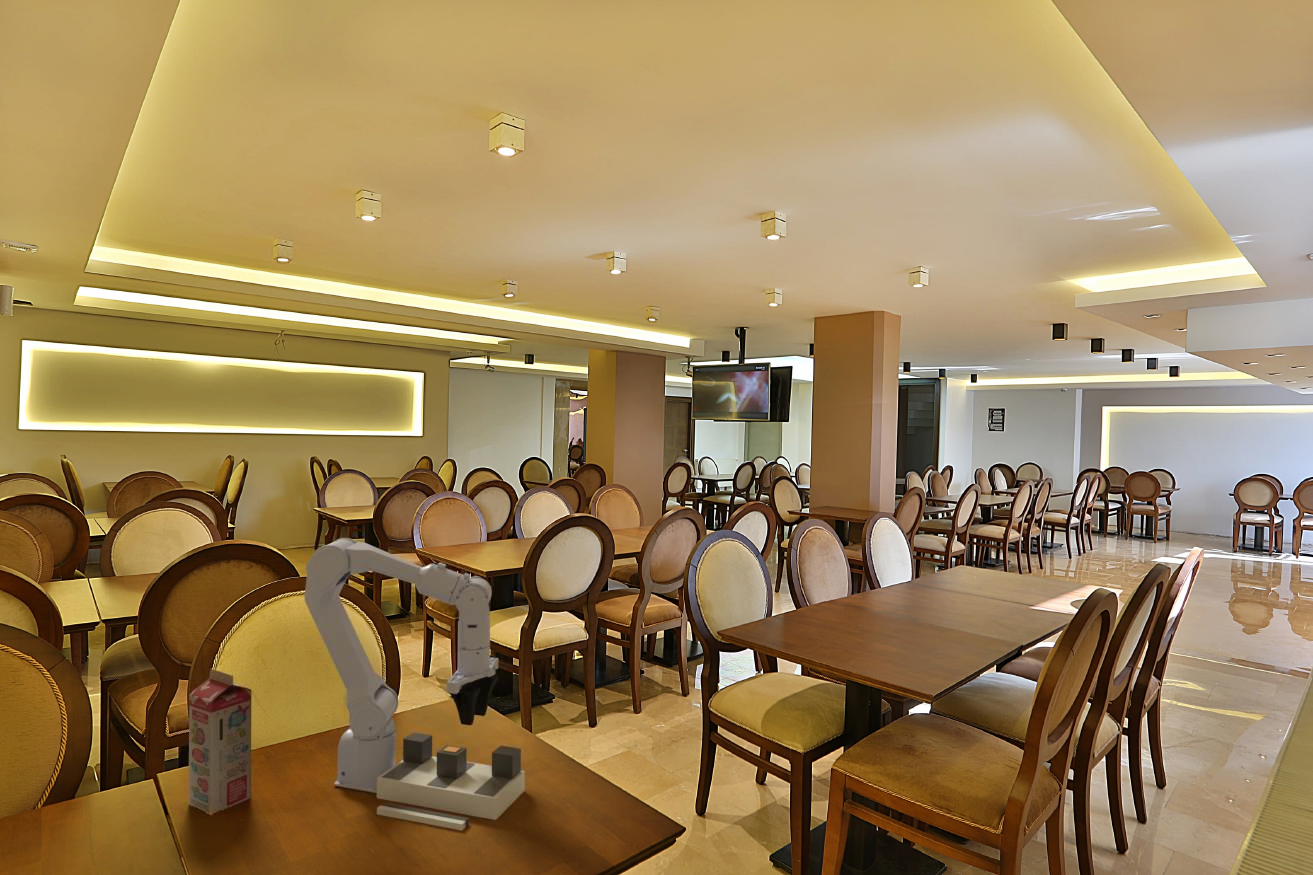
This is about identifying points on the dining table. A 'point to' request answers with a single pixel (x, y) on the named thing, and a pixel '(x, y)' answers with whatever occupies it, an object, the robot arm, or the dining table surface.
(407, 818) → the long grey stick
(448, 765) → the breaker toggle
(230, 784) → the juice carton
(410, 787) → the white panel with blocks
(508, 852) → the dining table surface
